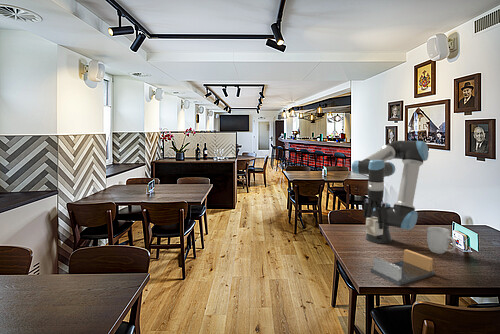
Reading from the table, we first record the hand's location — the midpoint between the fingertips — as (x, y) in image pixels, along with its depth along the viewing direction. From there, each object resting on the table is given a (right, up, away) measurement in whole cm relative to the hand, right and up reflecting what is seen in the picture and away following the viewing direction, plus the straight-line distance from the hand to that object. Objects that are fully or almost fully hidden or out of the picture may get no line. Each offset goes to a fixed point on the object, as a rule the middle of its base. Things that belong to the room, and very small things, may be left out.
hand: (373, 232), depth 168 cm
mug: (+42, -14, +13) cm, 46 cm away
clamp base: (+8, -17, -15) cm, 23 cm away
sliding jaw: (+18, -14, -10) cm, 25 cm away
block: (0, 0, 0) cm, 0 cm away
